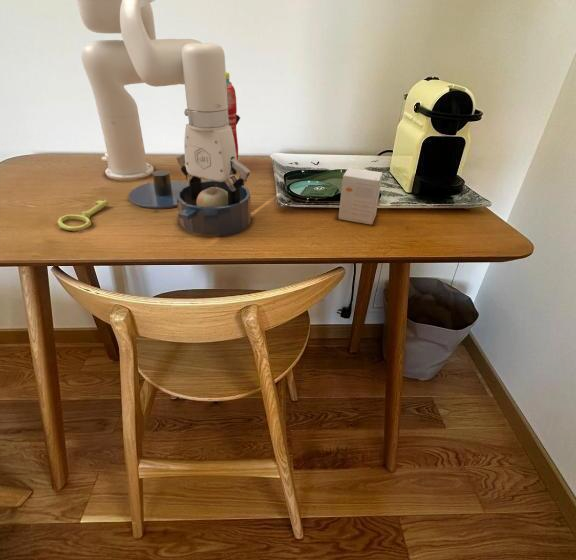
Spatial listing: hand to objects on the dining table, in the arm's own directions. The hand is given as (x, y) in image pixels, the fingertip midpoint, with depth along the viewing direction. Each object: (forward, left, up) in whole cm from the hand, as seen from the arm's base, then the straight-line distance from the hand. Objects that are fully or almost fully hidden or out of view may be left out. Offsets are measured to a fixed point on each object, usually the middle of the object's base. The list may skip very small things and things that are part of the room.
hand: (215, 202), depth 85 cm
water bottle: (-19, +33, -5) cm, 39 cm away
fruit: (0, 0, -4) cm, 4 cm away
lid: (-18, +4, -4) cm, 19 cm away
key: (-24, -14, -5) cm, 28 cm away
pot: (0, 0, -5) cm, 5 cm away
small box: (+27, +18, -5) cm, 33 cm away
